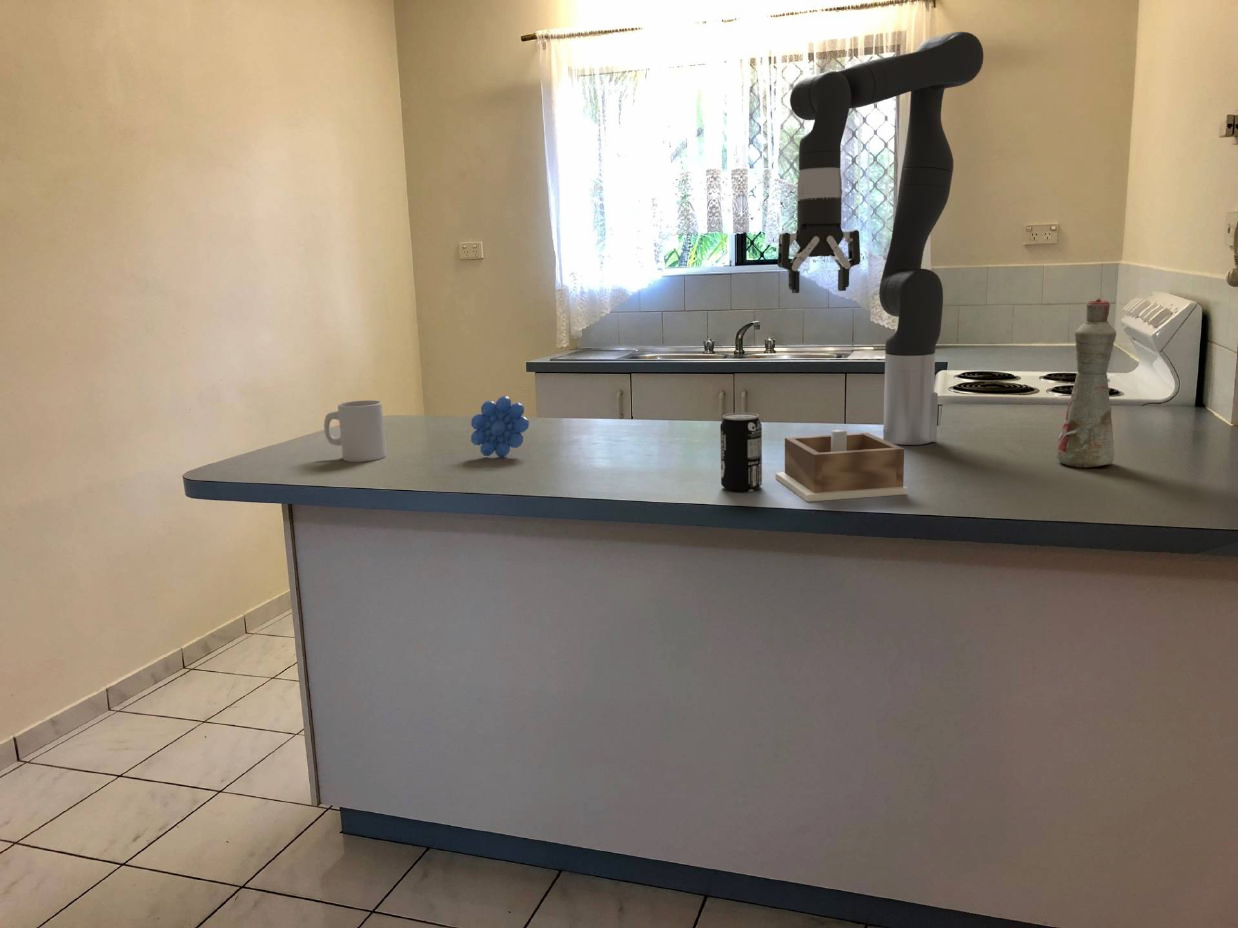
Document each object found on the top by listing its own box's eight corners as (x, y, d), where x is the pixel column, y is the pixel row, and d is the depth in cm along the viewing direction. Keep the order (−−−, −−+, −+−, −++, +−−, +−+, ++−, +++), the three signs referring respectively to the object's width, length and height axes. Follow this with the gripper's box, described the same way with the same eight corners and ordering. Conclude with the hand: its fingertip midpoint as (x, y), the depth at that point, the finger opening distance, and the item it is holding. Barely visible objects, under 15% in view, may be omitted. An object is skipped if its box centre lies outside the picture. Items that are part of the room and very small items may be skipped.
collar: (866, 467, 161) (867, 432, 160) (903, 486, 147) (904, 448, 146) (784, 472, 159) (784, 437, 158) (813, 493, 146) (814, 454, 144)
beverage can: (717, 484, 157) (716, 413, 155) (756, 482, 158) (756, 411, 155) (725, 494, 151) (724, 419, 148) (766, 491, 151) (765, 417, 149)
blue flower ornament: (534, 452, 190) (531, 392, 187) (528, 459, 183) (525, 397, 181) (477, 453, 191) (472, 394, 188) (469, 460, 184) (465, 399, 182)
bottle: (1091, 472, 156) (1103, 300, 150) (1044, 463, 164) (1054, 299, 158) (1125, 465, 160) (1138, 297, 154) (1078, 456, 168) (1089, 296, 162)
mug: (392, 452, 195) (387, 399, 192) (378, 461, 186) (373, 406, 184) (335, 453, 196) (330, 401, 194) (319, 462, 188) (313, 407, 185)
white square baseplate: (866, 472, 162) (867, 420, 160) (906, 494, 147) (908, 437, 145) (775, 478, 160) (775, 425, 158) (807, 501, 145) (807, 443, 143)
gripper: (850, 197, 169) (849, 289, 172) (773, 199, 167) (773, 293, 171) (867, 194, 162) (865, 291, 165) (786, 196, 160) (786, 294, 163)
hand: (818, 292), depth 168 cm, fingers open, 8 cm apart
